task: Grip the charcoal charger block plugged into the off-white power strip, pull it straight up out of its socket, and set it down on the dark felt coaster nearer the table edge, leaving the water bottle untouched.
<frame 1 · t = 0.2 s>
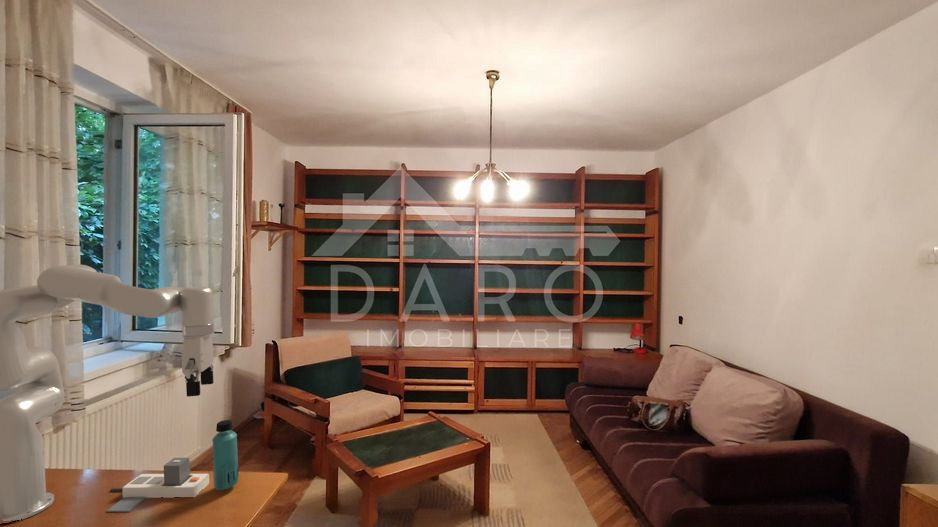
hand: (200, 389, 120), 30 cm above the table, tool pointing down, fingers open, 9 cm apart
power strip: (167, 490, 122), on the table
coaster: (126, 505, 115), on the table
charger: (177, 485, 122), point 2 cm above the table, touching power strip
beverage bottle: (226, 489, 123), on the table
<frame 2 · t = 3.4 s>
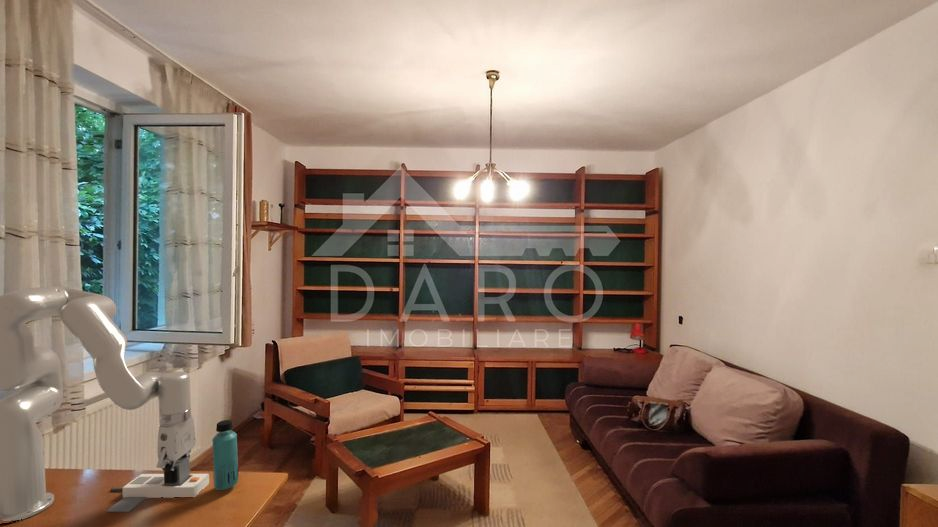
hand: (177, 477, 122), 4 cm above the table, tool pointing down, fingers closed on charger, 4 cm apart
charger: (177, 485, 122), point 2 cm above the table, touching gripper, power strip
everything else where it was.
when the fingers open (4 cm above the table, at t = 10.0 s): charger drops 1 cm, resting on coaster.
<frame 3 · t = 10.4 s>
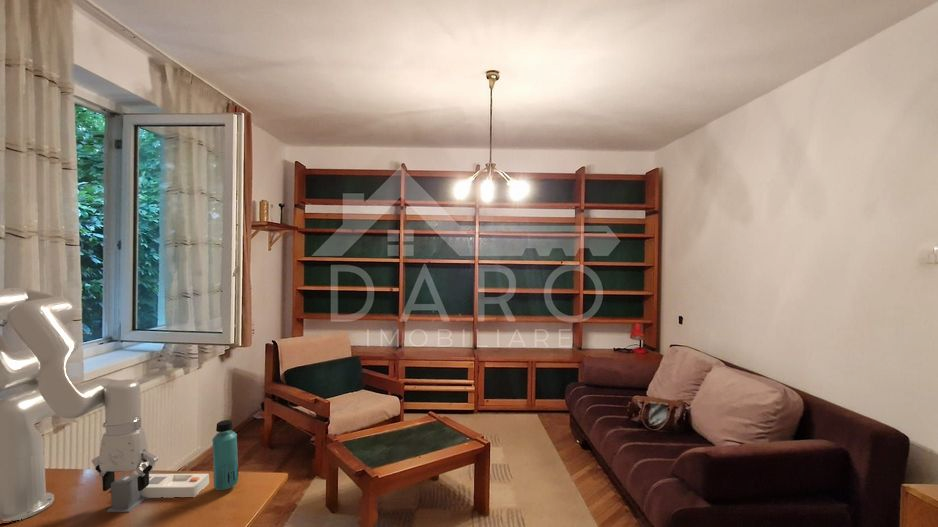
hand: (126, 488, 115), 5 cm above the table, tool pointing down, fingers open, 9 cm apart
charger: (126, 503, 115), resting on coaster
everything else where it was.
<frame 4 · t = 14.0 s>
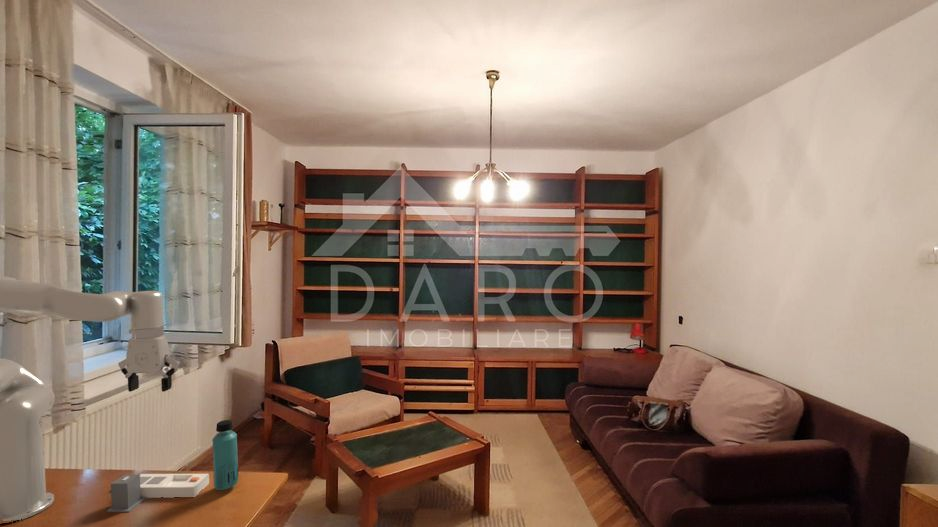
hand: (150, 390, 125), 28 cm above the table, tool pointing down, fingers open, 9 cm apart
nothing on the table moved.
at the end: charger 0.1 cm from the coaster (horizontally); charger resting on coaster; charger tilted 0° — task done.
